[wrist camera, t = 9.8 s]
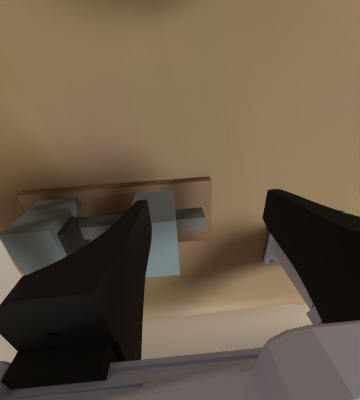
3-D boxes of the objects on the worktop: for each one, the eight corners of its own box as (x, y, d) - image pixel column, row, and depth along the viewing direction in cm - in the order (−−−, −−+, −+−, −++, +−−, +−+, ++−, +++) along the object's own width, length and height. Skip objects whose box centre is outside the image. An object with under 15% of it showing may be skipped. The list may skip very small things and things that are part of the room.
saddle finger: (173, 190, 20) (175, 220, 15) (177, 237, 23) (180, 274, 19) (130, 193, 20) (119, 225, 15) (140, 240, 23) (133, 279, 18)
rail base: (209, 176, 21) (225, 208, 15) (208, 234, 25) (220, 276, 19) (22, 191, 20) (-34, 229, 15) (51, 247, 24) (16, 294, 19)
